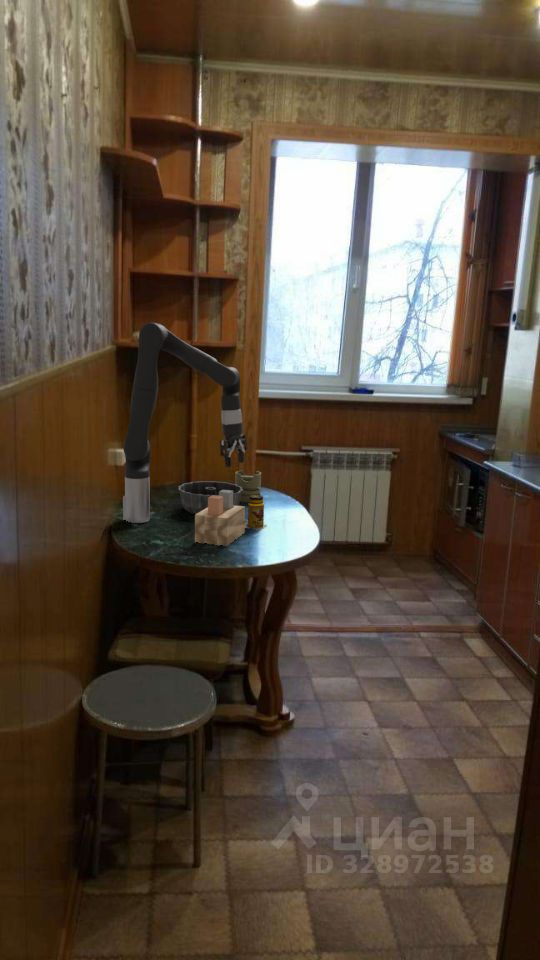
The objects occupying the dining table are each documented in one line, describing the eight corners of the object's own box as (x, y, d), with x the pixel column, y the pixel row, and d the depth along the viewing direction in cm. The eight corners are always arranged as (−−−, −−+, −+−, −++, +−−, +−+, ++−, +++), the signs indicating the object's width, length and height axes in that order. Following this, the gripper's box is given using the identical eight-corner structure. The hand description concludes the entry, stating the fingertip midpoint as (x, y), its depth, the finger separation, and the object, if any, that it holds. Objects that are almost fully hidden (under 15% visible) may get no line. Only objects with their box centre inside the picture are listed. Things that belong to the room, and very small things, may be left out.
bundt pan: (253, 509, 298) (254, 485, 296) (221, 523, 275) (221, 497, 273) (200, 500, 309) (200, 478, 307) (165, 513, 286) (165, 489, 284)
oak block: (194, 542, 248) (195, 514, 246) (214, 529, 265) (214, 503, 263) (226, 546, 245) (227, 518, 243) (244, 532, 261) (245, 506, 259)
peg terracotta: (207, 520, 247) (208, 497, 246) (212, 517, 251) (212, 495, 249) (218, 521, 246) (218, 498, 244) (222, 518, 250) (223, 496, 248)
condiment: (261, 530, 266) (261, 499, 264) (239, 527, 269) (240, 496, 266) (267, 525, 273) (267, 494, 271) (246, 523, 275) (246, 492, 273)
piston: (259, 475, 306) (233, 474, 307) (259, 502, 308) (233, 501, 309) (262, 470, 317) (237, 469, 318) (261, 497, 319) (236, 495, 320)
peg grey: (218, 513, 257) (218, 491, 255) (222, 510, 260) (223, 489, 259) (228, 514, 255) (229, 492, 254) (232, 512, 259) (233, 490, 257)
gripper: (234, 419, 270) (237, 460, 274) (212, 424, 259) (215, 467, 262) (251, 419, 266) (253, 461, 270) (229, 424, 255) (232, 469, 258)
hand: (235, 464), depth 266 cm, fingers open, 8 cm apart
